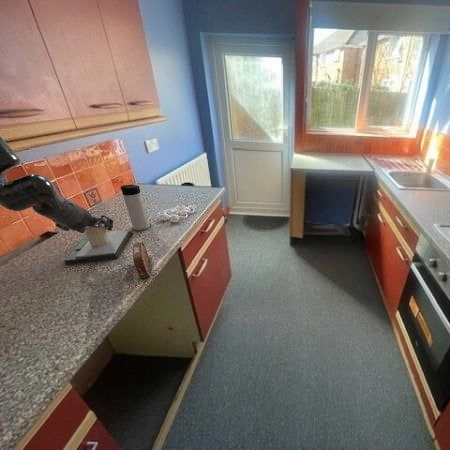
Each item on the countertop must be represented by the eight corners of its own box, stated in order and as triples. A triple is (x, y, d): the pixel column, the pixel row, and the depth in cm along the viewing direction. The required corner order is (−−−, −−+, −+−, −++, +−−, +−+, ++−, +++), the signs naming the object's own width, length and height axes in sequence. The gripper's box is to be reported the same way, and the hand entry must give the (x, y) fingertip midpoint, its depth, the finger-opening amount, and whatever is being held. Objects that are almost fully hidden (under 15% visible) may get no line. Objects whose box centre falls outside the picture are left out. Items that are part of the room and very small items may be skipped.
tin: (150, 281, 80) (144, 259, 76) (139, 284, 78) (132, 262, 74) (149, 256, 91) (143, 237, 87) (139, 259, 90) (132, 239, 86)
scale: (66, 265, 85) (63, 259, 83) (89, 238, 100) (87, 232, 98) (117, 259, 89) (114, 253, 87) (132, 235, 104) (130, 229, 102)
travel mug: (129, 230, 107) (115, 186, 97) (142, 224, 112) (130, 181, 103) (141, 233, 105) (127, 188, 96) (153, 226, 111) (142, 183, 101)
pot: (88, 247, 90) (79, 228, 86) (94, 239, 94) (87, 220, 91) (106, 245, 91) (99, 226, 87) (112, 237, 96) (105, 219, 92)
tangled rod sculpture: (181, 207, 132) (179, 199, 131) (204, 209, 129) (203, 201, 127) (152, 221, 116) (150, 213, 114) (177, 224, 112) (175, 216, 110)
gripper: (96, 201, 79) (119, 218, 95) (42, 204, 76) (74, 221, 91) (95, 223, 77) (119, 237, 93) (39, 228, 74) (73, 241, 89)
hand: (97, 229), depth 92 cm, fingers open, 8 cm apart
